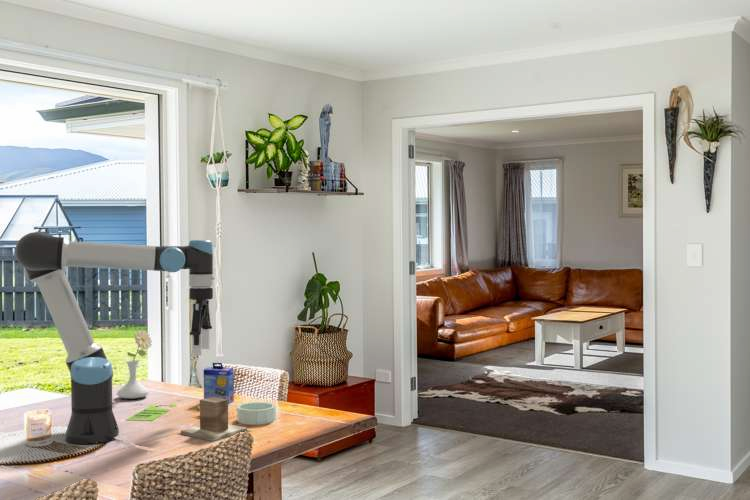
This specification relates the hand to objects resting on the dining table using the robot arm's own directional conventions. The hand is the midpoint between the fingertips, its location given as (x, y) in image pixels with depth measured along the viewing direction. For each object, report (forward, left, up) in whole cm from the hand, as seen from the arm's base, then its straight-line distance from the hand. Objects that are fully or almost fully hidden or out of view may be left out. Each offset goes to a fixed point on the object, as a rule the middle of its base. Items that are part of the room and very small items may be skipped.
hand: (201, 352), depth 270 cm
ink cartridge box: (+22, +16, -23) cm, 35 cm away
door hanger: (-2, +22, -23) cm, 32 cm away
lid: (-11, -18, -22) cm, 30 cm away
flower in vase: (+9, +47, -23) cm, 53 cm away
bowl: (+8, -17, -22) cm, 29 cm away
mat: (-11, -18, -22) cm, 31 cm away
